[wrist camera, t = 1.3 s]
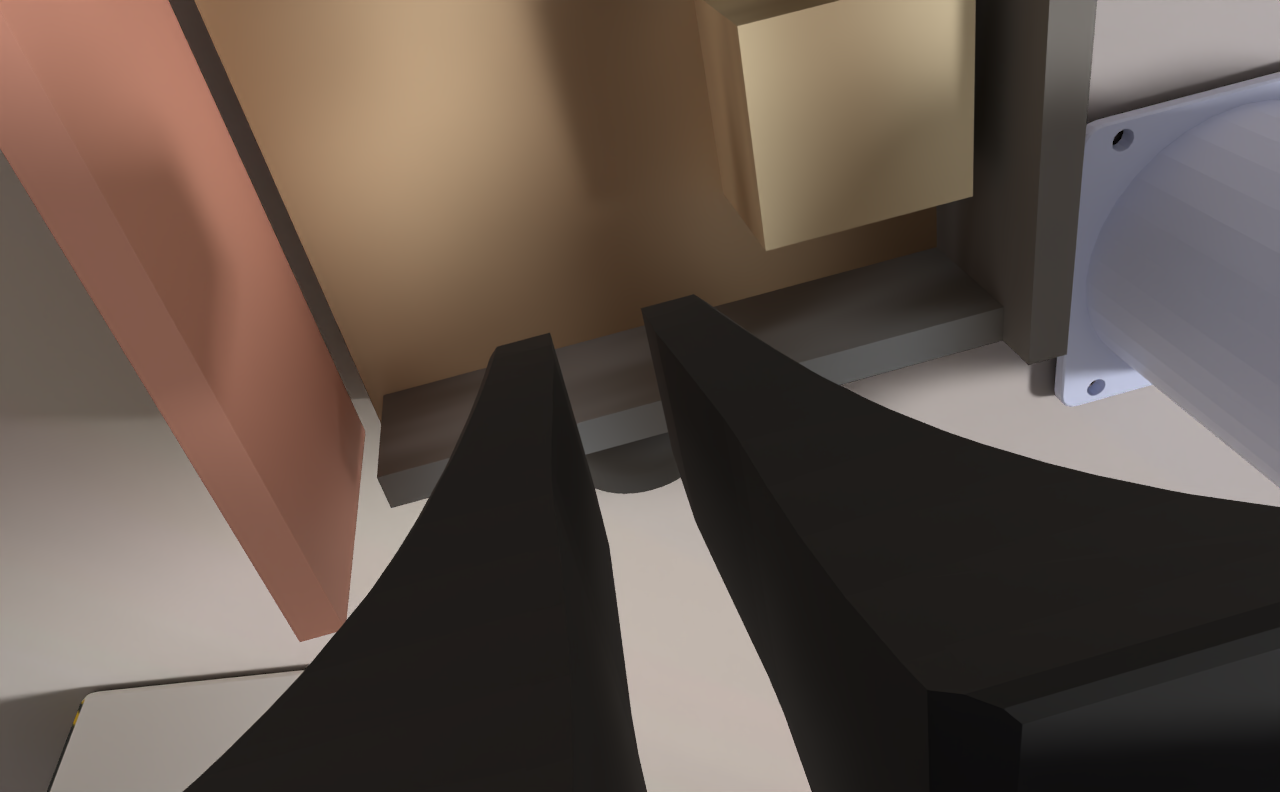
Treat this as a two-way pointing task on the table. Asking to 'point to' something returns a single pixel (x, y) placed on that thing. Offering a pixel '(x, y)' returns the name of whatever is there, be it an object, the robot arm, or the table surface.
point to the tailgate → (188, 280)
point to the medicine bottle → (161, 732)
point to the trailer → (623, 207)
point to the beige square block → (839, 109)
